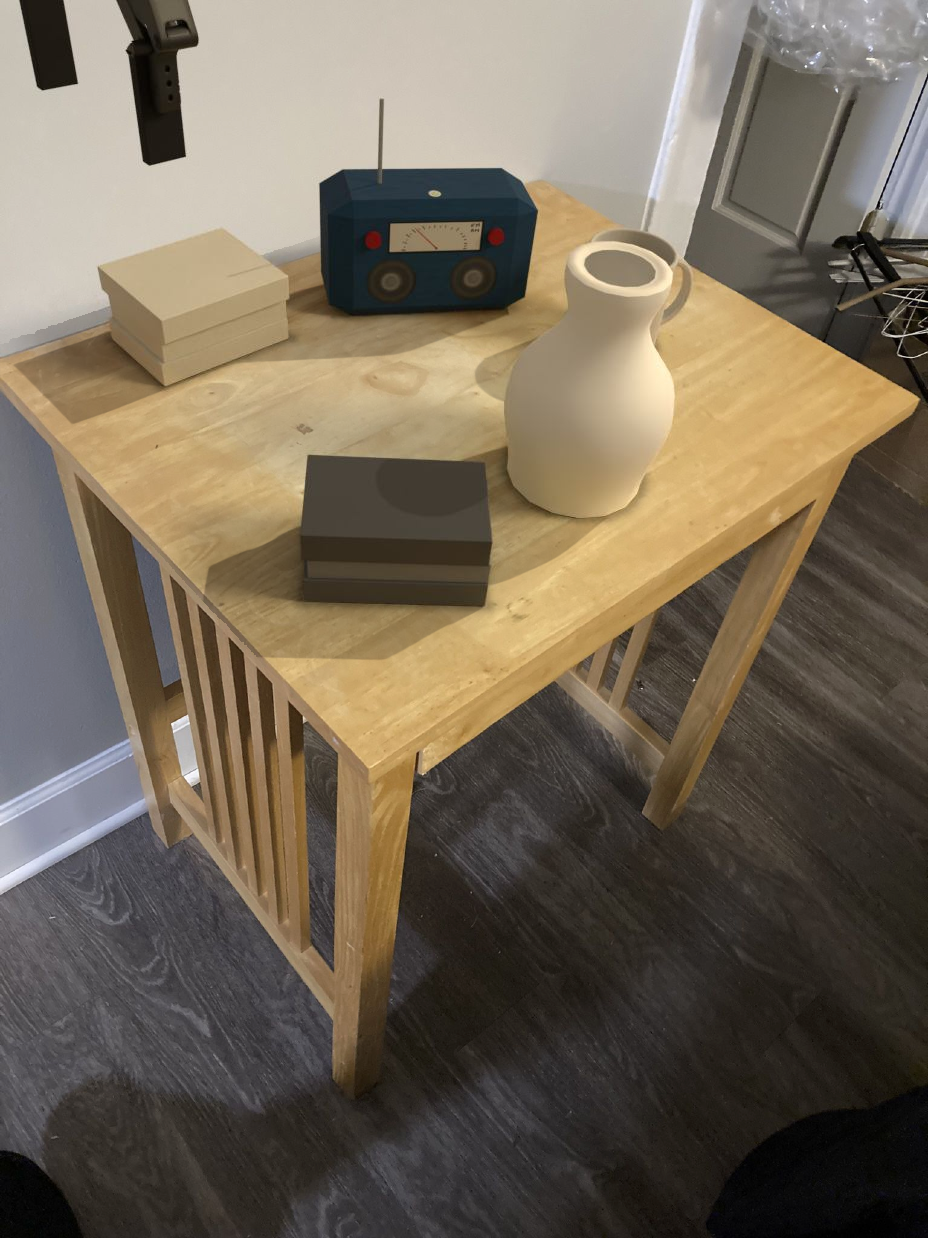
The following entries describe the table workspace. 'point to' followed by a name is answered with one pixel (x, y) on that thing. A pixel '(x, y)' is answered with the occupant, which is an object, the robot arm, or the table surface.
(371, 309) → the radio
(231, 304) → the beige flat block
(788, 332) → the table surface
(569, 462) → the vase
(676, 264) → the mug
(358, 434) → the table surface
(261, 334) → the beige rectangular block
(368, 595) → the dark brown box
